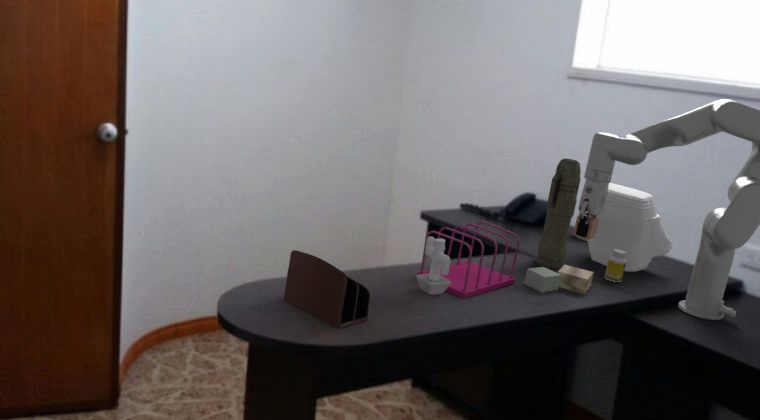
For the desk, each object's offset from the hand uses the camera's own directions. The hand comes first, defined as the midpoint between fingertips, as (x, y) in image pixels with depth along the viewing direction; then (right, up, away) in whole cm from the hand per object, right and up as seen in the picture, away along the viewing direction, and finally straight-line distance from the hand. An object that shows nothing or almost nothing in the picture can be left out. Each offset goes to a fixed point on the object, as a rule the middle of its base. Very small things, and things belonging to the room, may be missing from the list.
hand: (584, 233), depth 224 cm
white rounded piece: (+20, -12, +33) cm, 41 cm away
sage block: (-13, -16, -1) cm, 21 cm away
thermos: (-6, -11, +23) cm, 26 cm away
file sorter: (-36, -14, -5) cm, 39 cm away
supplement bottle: (+13, -15, +16) cm, 26 cm away
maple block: (-3, -16, +4) cm, 17 cm away
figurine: (-47, -15, -17) cm, 52 cm away
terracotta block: (0, -1, 0) cm, 1 cm away
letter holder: (-74, -18, -41) cm, 86 cm away
